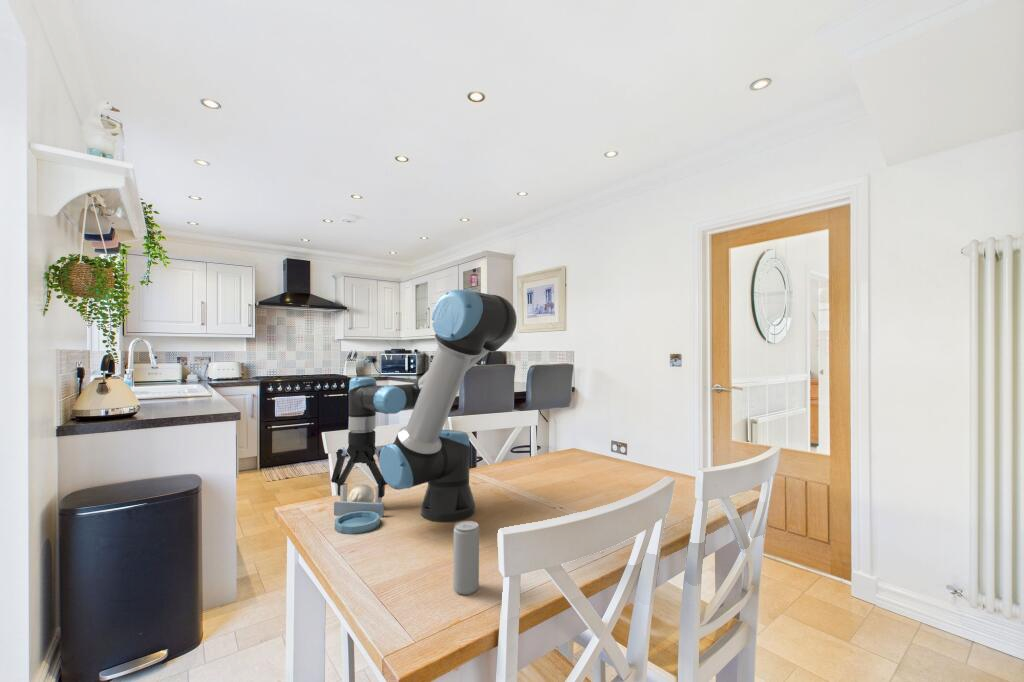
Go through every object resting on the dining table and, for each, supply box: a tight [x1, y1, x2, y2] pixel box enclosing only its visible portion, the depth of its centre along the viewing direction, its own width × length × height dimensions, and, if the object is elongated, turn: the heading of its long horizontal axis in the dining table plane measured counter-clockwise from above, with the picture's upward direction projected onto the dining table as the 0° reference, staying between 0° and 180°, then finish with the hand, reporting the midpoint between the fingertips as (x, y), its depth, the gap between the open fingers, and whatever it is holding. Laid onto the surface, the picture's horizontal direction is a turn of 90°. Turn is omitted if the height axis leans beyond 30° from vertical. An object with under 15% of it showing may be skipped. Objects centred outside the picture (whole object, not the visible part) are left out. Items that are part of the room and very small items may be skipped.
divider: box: [333, 500, 385, 518], centre depth 123 cm, size 14×1×4 cm, turn 83°
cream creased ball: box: [347, 484, 375, 503], centre depth 128 cm, size 7×7×7 cm
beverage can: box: [452, 520, 480, 596], centre depth 84 cm, size 5×5×12 cm
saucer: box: [334, 511, 381, 535], centre depth 115 cm, size 11×11×2 cm
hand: (360, 507), depth 128 cm, fingers open, 10 cm apart
